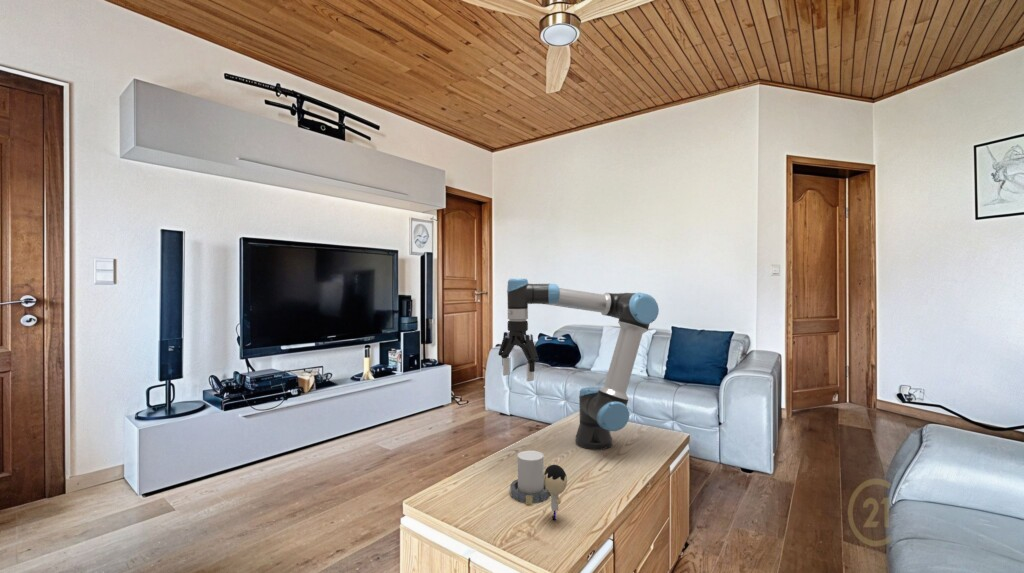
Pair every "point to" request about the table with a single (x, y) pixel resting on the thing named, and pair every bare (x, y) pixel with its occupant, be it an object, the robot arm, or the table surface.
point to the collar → (528, 495)
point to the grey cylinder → (530, 472)
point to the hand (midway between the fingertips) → (517, 377)
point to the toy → (555, 485)
